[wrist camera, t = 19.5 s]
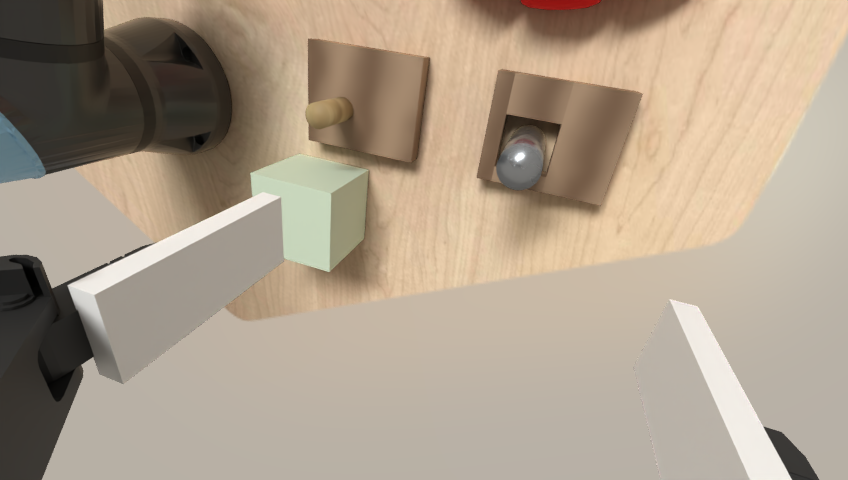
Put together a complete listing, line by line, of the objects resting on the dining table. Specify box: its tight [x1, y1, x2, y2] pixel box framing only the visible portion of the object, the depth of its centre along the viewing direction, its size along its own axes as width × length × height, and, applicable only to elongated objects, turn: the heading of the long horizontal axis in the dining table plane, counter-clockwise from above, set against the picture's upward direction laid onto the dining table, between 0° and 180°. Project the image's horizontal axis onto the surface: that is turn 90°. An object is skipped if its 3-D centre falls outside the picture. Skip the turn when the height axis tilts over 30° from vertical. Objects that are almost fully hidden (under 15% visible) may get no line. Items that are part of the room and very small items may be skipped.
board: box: [306, 39, 430, 163], centre depth 38 cm, size 12×10×7 cm
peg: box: [496, 125, 546, 190], centre depth 34 cm, size 3×3×10 cm
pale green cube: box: [250, 154, 369, 272], centre depth 44 cm, size 9×9×9 cm
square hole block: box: [477, 69, 643, 206], centre depth 36 cm, size 12×10×2 cm
